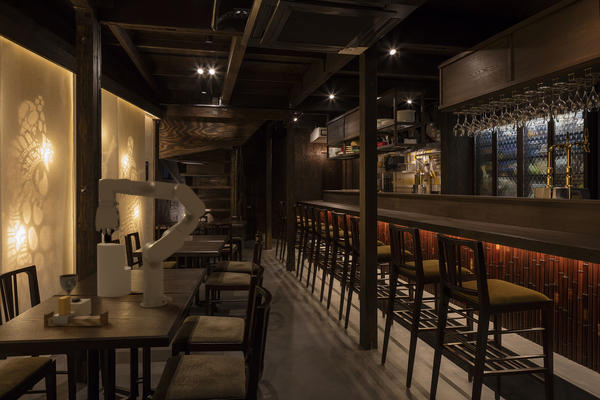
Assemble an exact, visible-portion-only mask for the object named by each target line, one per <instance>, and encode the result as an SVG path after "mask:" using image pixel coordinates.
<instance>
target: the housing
mask: <svg viewBox="0 0 600 400" xmlns="http://www.w3.org/2000/svg"><path fill="white" fill-rule="evenodd" d="M73 311H76V316H91V314H92V299H91V298H80V301H79V302H78V303H72V301H71V312H73Z"/></svg>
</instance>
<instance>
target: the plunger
mask: <svg viewBox="0 0 600 400" xmlns="http://www.w3.org/2000/svg"><path fill="white" fill-rule="evenodd" d="M80 299H81V297H74V298H71V301H72V303H78V302H79V301H80Z"/></svg>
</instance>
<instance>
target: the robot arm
mask: <svg viewBox="0 0 600 400" xmlns="http://www.w3.org/2000/svg"><path fill="white" fill-rule="evenodd" d="M117 194H121V195H125V196H126V195H129V196H137V197H145V198H151V199H159V200H161V199H162V200H167V201H168V200H169V201H178V202H179V203H180V204H181V205H182V206H183V210H184V212H183V213H184V214H183V217H182V218H181V219H180V220H179V221H178V222H176V223H175V224H174V225H172V226H170V227H169V228H168V229H167V230H165V231H164V232H163V234H162V235H161V237H160V239H158V240H157V241H149V242H147V243H145V244H144V246H143V247H142V250H141V251H142V252H141V253H142V254H141V257H142V271H143V273H142V276H143V277H142V278H143V279H142V280H143V281H142V286H143V294H142V295H143V298H142V300H143V301H141V302H140V303H139V306H140V307H141V308H145V309H146V308H147V309H148V308H149V309H151V308H152V309H153V308H160V307H163V306H166V305H167V303H168V302H172V301H173V297H171V296H166V294H165V293H164V261H166V260H167V258H169V257H170V256H171V255H173V254H174V253H176V252H177V251H178V250H180V249H181V248H182V247H183V246H184V243H185V241H186V238H187V237H188V236H189V235H190V234H191V233H192V232H194V231H195V230H196V228H197V227H198V225H199V222H200V218H201V217H203V216H204V215H205V213H206V210H207V209H206V205H205V203H204V202H203V201H202V200H201V199H200V197H199V196H198V195H197V194H196V193H195V191H193V189H192V188H191V187H190V186H188V185H187V184H185V183H171V182H166V181H165V182H164V181H163V182H162V181H157V180H156V181H155V180H154V181H153V180H151V181H141V180H140V181H139V180H133V179H132V180H131V179H130V178H118V179H117V178H116V179H114V178H101V179H99V181H98V207H96V208H97V209H96V214H95V231H96V232H100V233H101V234H102V236H103V243H105V244H109V243H112V240H113V237H112V235H113V234H114V233H115V232H118V231H120V227H121V216H120V210H119V207H117V206H119V205H120V202H119V201H117Z"/></svg>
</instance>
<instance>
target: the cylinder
mask: <svg viewBox="0 0 600 400" xmlns="http://www.w3.org/2000/svg"><path fill="white" fill-rule="evenodd" d="M96 248H97V249H96V252H97V259H96V261H97V268H96V269H97V272H96V273H97V274H96V275H97V296H98V297H100V298H118V297H122V296H127V295H130V294H132V267H131V266H126V261H125V259H126V255H125V254H126V252H125V250H126V249H125V248H126V245H125V244H122V243H112V242H111V243H109V244H105V242H100V243H97V245H96Z"/></svg>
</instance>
